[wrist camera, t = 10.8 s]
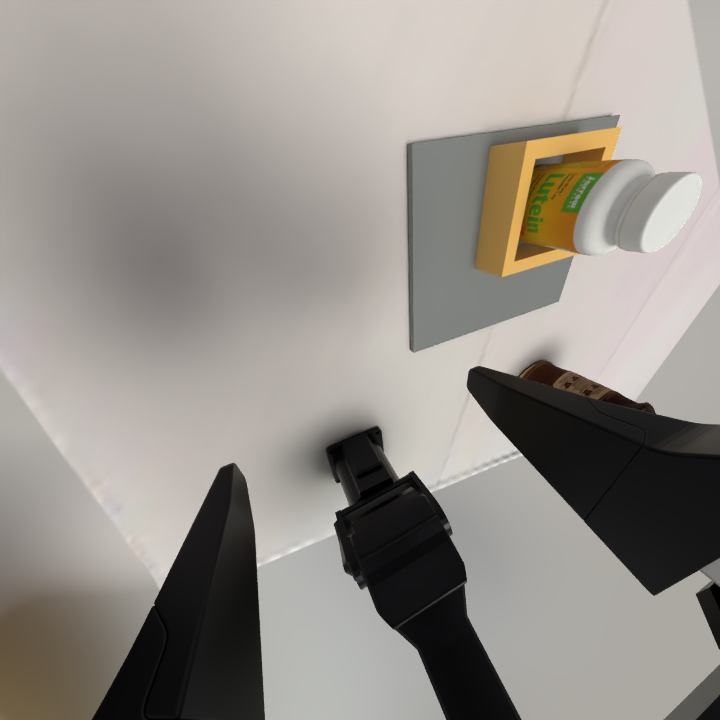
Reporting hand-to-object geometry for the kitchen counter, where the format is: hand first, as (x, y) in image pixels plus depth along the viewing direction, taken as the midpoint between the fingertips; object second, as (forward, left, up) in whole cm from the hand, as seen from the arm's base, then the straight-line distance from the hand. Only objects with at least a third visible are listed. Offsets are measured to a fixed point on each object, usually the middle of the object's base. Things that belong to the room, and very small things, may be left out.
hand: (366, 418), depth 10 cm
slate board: (0, -19, -13) cm, 23 cm away
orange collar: (+3, -20, -12) cm, 24 cm away
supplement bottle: (+3, -20, -13) cm, 24 cm away
